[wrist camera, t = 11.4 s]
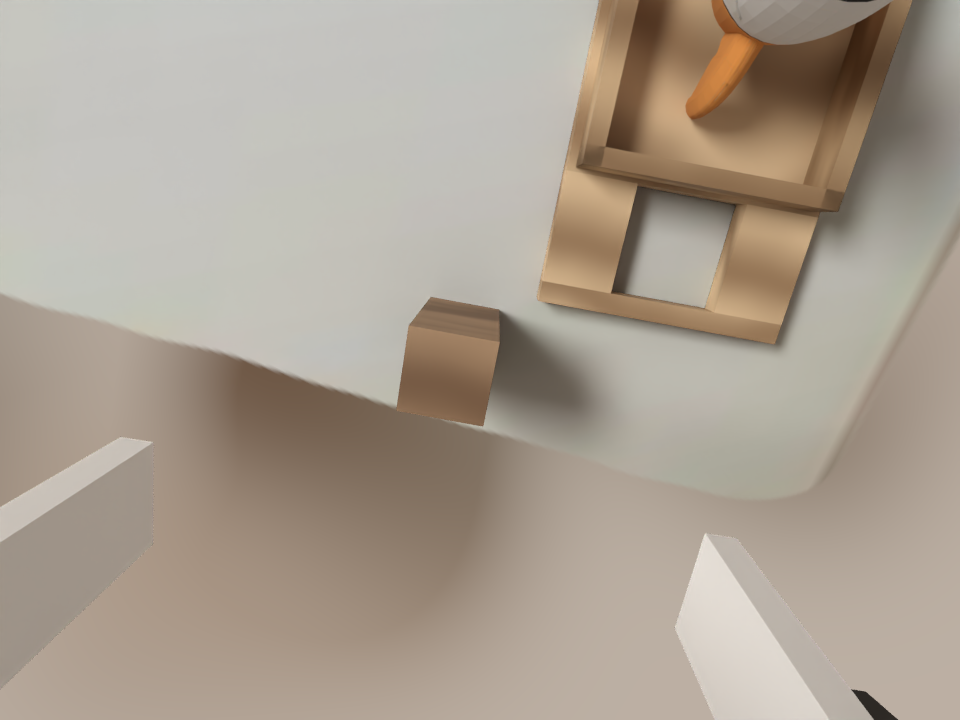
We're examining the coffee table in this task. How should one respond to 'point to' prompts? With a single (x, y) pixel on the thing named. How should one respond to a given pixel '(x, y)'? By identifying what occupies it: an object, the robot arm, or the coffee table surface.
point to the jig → (711, 155)
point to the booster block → (450, 361)
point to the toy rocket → (767, 37)
